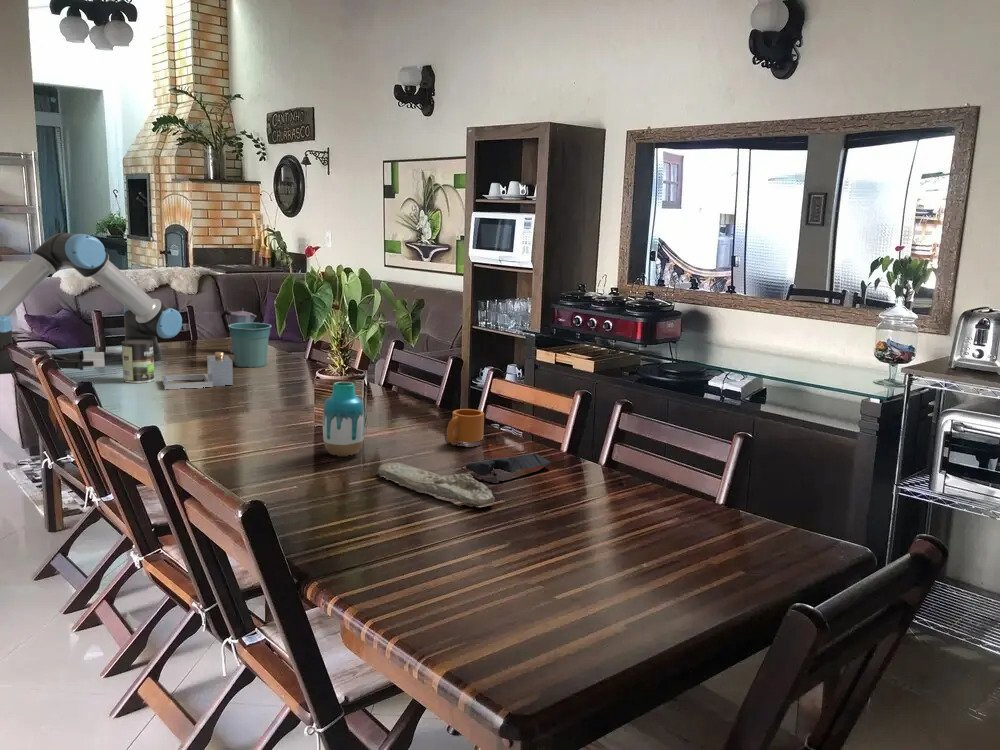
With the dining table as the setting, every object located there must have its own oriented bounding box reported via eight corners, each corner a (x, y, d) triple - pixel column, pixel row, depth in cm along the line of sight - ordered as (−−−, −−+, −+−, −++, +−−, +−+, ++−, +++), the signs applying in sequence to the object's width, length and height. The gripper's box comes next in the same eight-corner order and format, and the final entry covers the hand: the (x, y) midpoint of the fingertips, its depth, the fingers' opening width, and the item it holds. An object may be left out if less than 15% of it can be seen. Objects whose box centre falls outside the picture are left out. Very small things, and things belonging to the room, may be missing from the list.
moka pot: (253, 355, 346) (252, 309, 342) (217, 354, 346) (216, 307, 342) (260, 351, 355) (259, 306, 351) (225, 350, 355) (224, 305, 351)
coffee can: (159, 378, 294) (158, 340, 291) (146, 384, 284) (145, 344, 281) (131, 377, 294) (129, 338, 291) (117, 382, 284) (115, 343, 281)
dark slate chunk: (559, 473, 206) (560, 455, 205) (489, 487, 193) (489, 468, 192) (522, 457, 218) (523, 440, 217) (453, 470, 205) (454, 452, 204)
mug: (435, 443, 227) (436, 411, 225) (471, 438, 234) (472, 407, 232) (452, 450, 220) (453, 418, 218) (489, 445, 227) (490, 414, 225)
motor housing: (161, 381, 289) (160, 350, 287) (227, 378, 299) (226, 348, 297) (165, 390, 276) (163, 358, 274) (233, 386, 286) (232, 355, 283)
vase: (327, 462, 205) (327, 388, 201) (319, 451, 214) (319, 380, 211) (368, 459, 209) (369, 386, 205) (358, 448, 219) (359, 378, 215)
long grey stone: (397, 474, 203) (367, 485, 196) (396, 454, 202) (366, 464, 195) (506, 502, 181) (477, 515, 174) (505, 479, 180) (476, 492, 173)
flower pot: (271, 369, 319) (271, 328, 316) (227, 369, 315) (226, 328, 312) (272, 361, 335) (272, 322, 332) (230, 361, 331) (230, 322, 328)
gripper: (37, 365, 285) (104, 363, 294) (32, 379, 263) (105, 376, 272) (35, 344, 283) (103, 343, 293) (31, 357, 262) (104, 354, 271)
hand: (104, 359), depth 283 cm, fingers open, 13 cm apart
